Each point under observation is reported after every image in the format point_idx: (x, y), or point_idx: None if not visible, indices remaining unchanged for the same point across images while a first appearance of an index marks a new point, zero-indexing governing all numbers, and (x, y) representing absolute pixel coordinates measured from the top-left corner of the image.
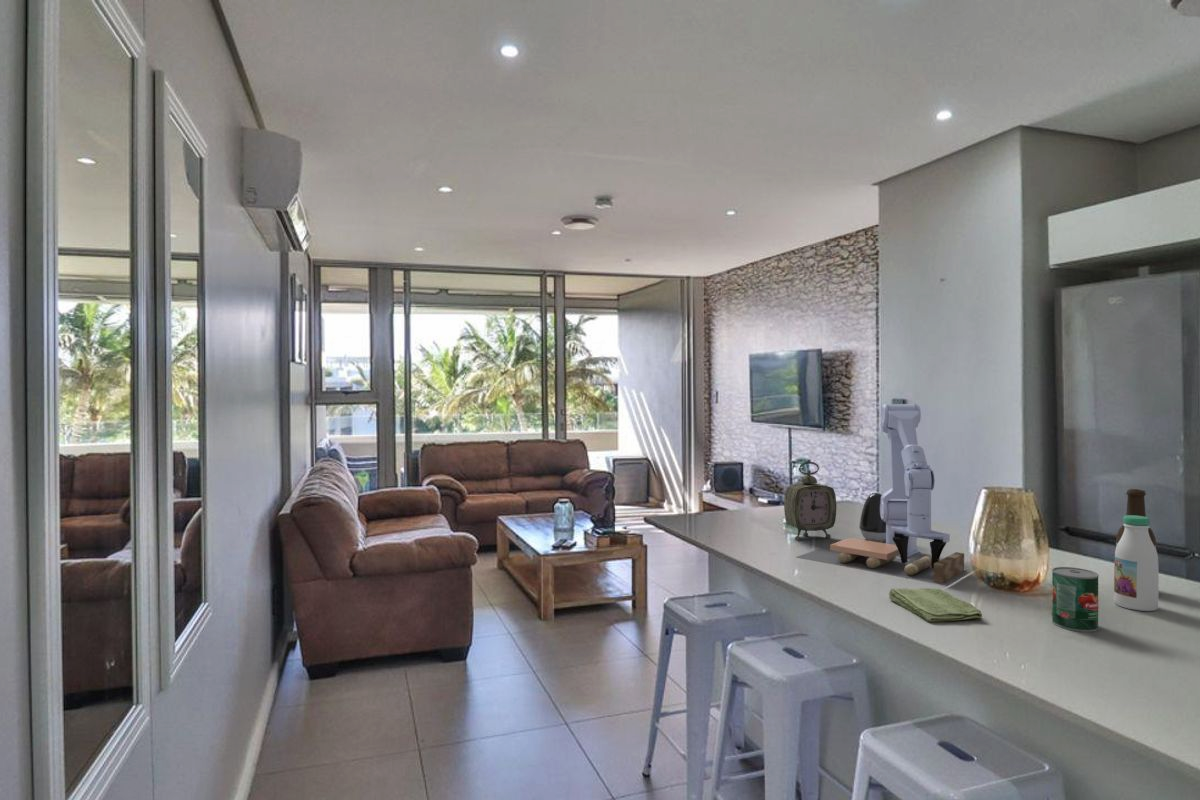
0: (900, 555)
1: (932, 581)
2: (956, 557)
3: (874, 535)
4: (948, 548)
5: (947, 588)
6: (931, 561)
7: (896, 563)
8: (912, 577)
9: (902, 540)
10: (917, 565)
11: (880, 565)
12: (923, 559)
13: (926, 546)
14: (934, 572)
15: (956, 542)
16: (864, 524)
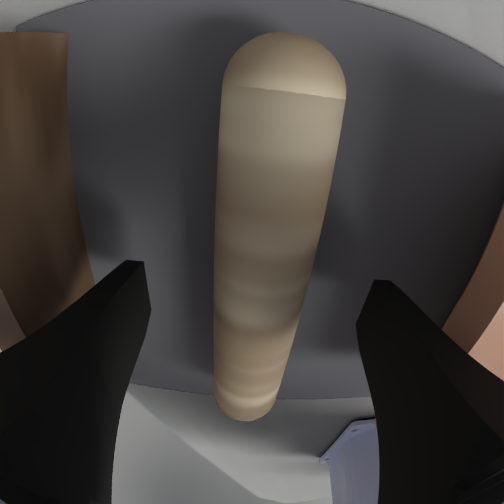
0: (425, 316)
1: (77, 34)
2: None
3: None
4: (260, 481)
5: (3, 15)
6: (117, 290)
7: None
8: (242, 31)
9: (468, 458)
10: (229, 183)
11: (495, 223)
12: (240, 363)
13: (309, 477)
14: (16, 33)
15: (259, 493)
16: None
